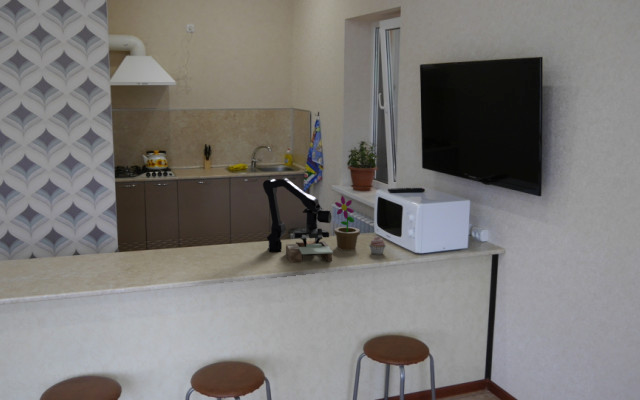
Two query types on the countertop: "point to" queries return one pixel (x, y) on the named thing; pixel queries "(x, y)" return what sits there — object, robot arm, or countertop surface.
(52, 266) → the countertop surface
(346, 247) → the flowerpot
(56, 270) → the countertop surface
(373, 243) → the cupcake
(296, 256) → the puzzle board
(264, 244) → the countertop surface
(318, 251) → the sliding cover
